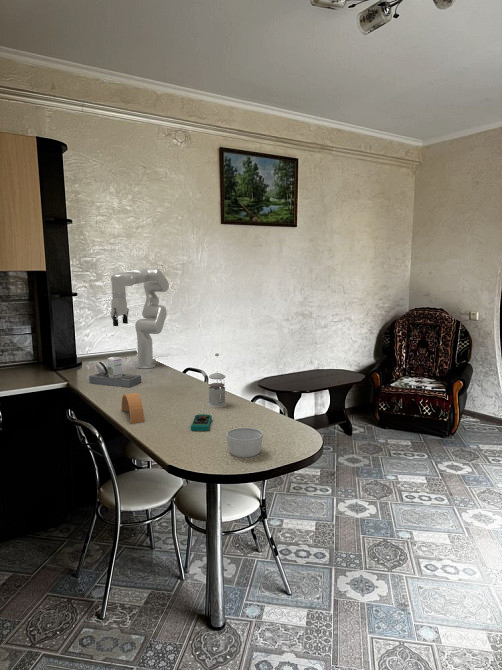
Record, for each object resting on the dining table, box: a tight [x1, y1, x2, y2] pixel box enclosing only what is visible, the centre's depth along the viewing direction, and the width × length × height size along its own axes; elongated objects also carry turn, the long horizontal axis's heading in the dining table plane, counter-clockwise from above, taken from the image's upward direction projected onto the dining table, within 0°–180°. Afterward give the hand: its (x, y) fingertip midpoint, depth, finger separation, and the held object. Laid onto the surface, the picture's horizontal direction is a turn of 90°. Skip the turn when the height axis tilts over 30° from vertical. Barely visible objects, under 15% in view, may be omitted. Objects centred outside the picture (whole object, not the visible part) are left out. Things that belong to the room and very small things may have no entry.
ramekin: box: [225, 426, 264, 458], centre depth 168 cm, size 13×13×7 cm
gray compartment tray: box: [88, 372, 142, 388], centre depth 264 cm, size 12×26×4 cm, turn 71°
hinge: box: [95, 360, 108, 373], centre depth 280 cm, size 17×5×10 cm, turn 32°
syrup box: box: [107, 356, 123, 378], centre depth 264 cm, size 6×6×14 cm
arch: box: [121, 392, 145, 425], centre depth 206 cm, size 6×20×10 cm, turn 26°
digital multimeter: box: [190, 413, 213, 432], centre depth 196 cm, size 7×15×3 cm, turn 179°
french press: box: [206, 353, 228, 408], centre depth 225 cm, size 10×12×25 cm
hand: (120, 324), depth 276 cm, fingers open, 9 cm apart
